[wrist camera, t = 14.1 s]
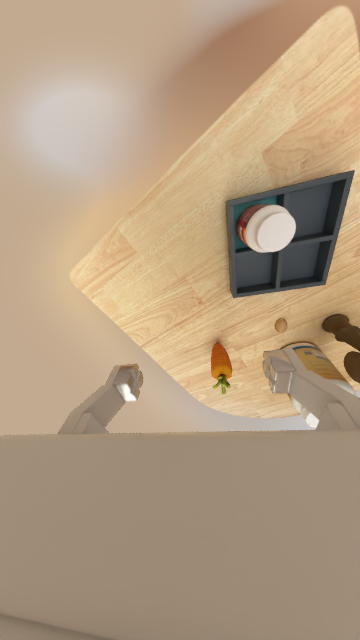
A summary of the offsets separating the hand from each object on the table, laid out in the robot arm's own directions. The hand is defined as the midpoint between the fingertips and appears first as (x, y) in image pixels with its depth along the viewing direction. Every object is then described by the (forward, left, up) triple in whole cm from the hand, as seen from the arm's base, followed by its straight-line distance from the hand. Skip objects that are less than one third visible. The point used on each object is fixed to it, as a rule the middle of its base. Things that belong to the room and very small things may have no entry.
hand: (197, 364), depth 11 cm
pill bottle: (-3, +11, -29) cm, 31 cm away
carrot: (+25, +2, -30) cm, 39 cm away
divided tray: (+1, +15, -30) cm, 33 cm away
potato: (+21, +18, -30) cm, 41 cm away
